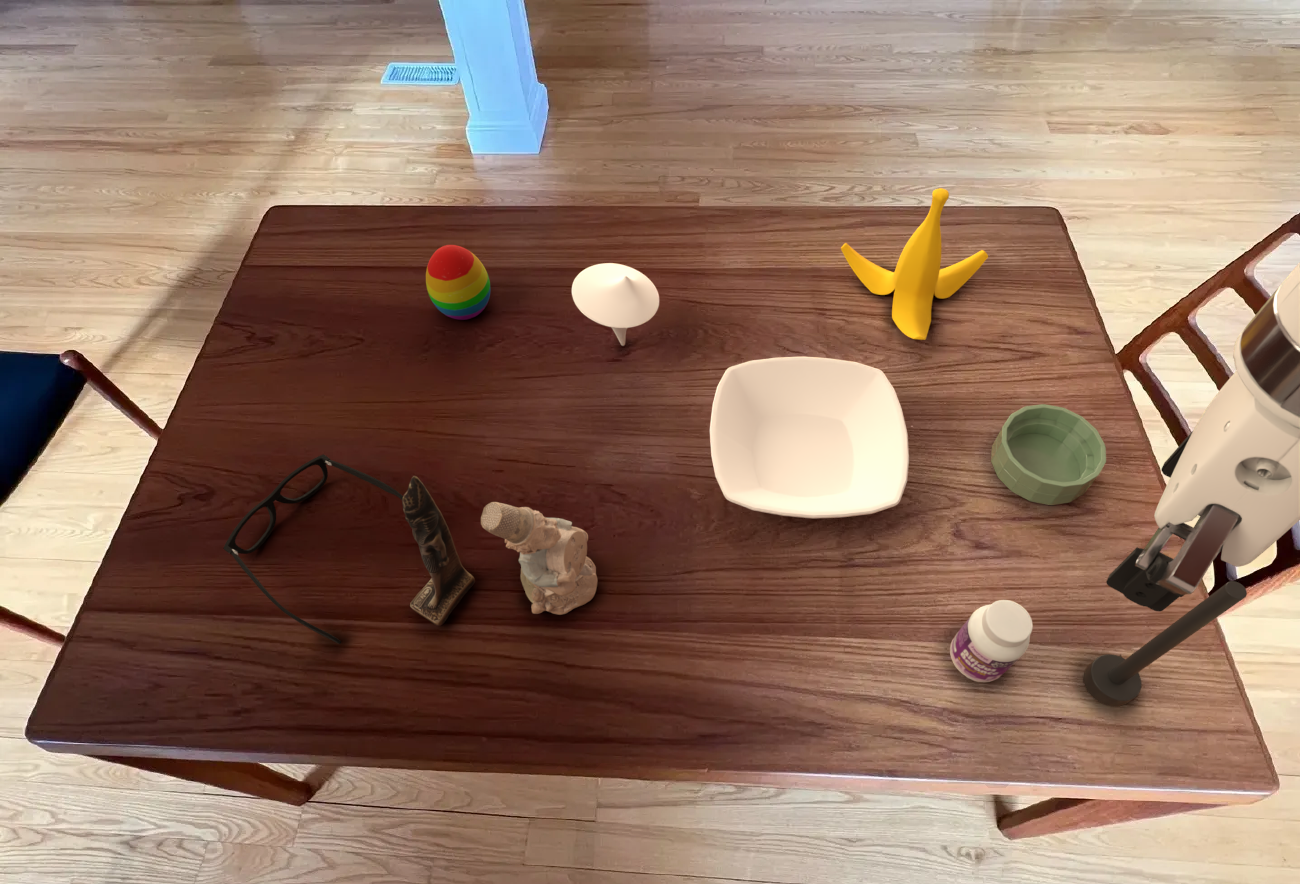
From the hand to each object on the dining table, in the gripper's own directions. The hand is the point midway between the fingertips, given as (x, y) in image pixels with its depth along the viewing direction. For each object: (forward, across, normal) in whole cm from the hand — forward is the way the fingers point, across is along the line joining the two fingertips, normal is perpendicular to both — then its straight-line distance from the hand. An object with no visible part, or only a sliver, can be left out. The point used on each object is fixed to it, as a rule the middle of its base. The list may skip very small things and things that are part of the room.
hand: (1160, 535), depth 49 cm
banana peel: (+32, +40, +30) cm, 60 cm away
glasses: (+32, -28, +65) cm, 78 cm away
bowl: (+32, +12, +29) cm, 45 cm away
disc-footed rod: (+32, +7, -8) cm, 34 cm away
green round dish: (+32, +26, +7) cm, 42 cm away
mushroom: (+32, +14, +57) cm, 67 cm away
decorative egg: (+32, +7, +79) cm, 86 cm away
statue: (+32, -25, +51) cm, 65 cm away
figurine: (+32, -17, +42) cm, 55 cm away
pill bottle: (+32, +2, +3) cm, 33 cm away
